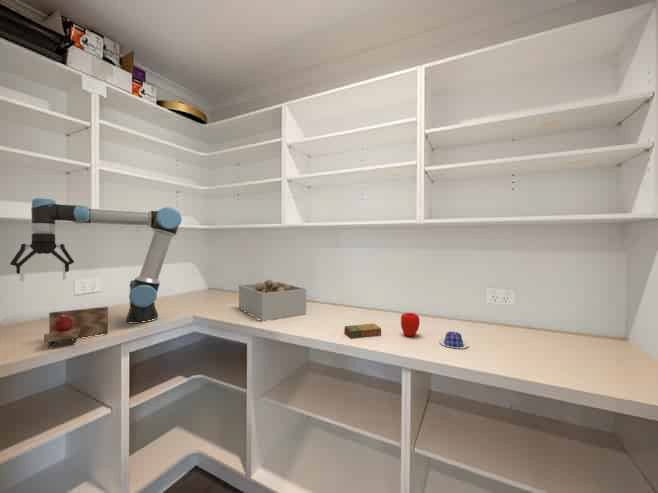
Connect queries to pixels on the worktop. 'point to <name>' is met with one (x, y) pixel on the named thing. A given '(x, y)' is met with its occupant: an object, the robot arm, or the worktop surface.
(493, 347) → the worktop surface
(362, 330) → the carton
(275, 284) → the lumpy brown heap
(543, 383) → the worktop surface
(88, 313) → the wallboard
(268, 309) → the storage crate
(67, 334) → the cleat shelf
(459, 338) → the blue plaid bucket hat
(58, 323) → the onion
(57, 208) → the robot arm
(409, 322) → the red rounded piece
